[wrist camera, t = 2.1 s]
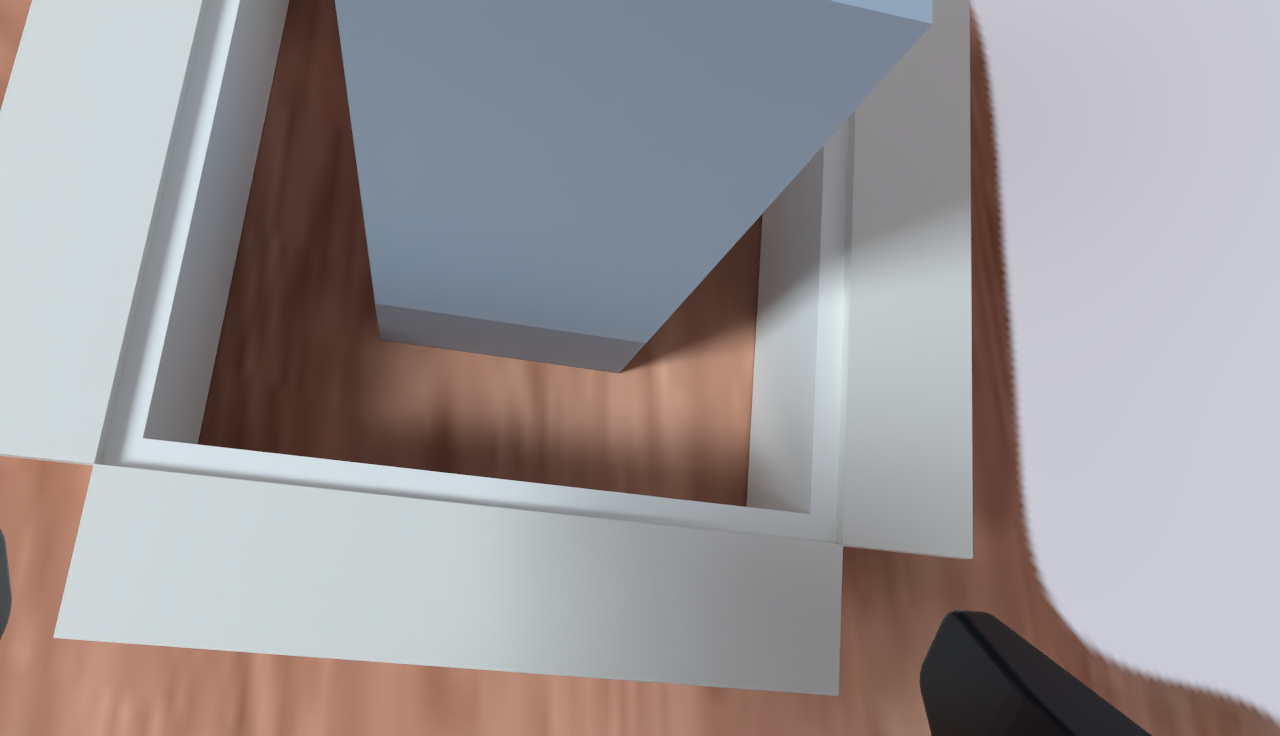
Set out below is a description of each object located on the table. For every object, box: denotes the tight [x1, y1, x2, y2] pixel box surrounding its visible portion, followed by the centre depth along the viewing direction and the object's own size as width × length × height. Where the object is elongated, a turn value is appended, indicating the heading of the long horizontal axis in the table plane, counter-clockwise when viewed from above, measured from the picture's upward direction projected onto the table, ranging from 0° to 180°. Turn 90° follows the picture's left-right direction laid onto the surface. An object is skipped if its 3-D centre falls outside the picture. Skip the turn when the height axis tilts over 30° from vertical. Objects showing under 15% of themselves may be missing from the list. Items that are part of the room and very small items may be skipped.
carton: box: [0, 0, 973, 696], centre depth 18 cm, size 14×17×4 cm
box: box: [335, 0, 933, 373], centre depth 14 cm, size 5×5×13 cm
